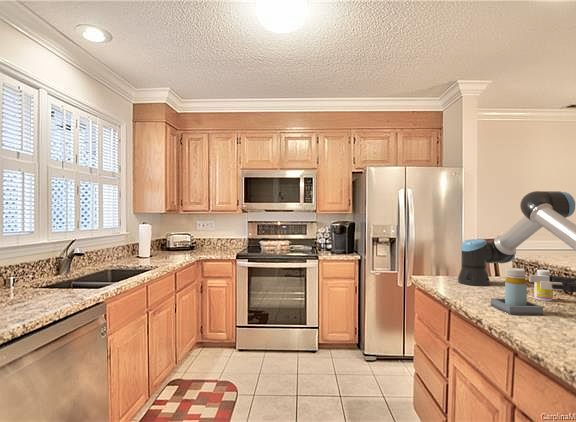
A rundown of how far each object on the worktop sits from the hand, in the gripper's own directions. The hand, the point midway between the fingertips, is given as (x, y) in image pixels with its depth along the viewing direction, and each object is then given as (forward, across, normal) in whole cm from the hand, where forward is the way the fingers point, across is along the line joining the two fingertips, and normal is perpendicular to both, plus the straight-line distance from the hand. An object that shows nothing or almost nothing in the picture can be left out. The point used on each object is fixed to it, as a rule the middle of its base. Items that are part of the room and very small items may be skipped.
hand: (534, 281), depth 135 cm
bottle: (+6, 0, -11) cm, 13 cm away
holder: (+6, 0, -12) cm, 13 cm away
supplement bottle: (-10, +24, -12) cm, 29 cm away
